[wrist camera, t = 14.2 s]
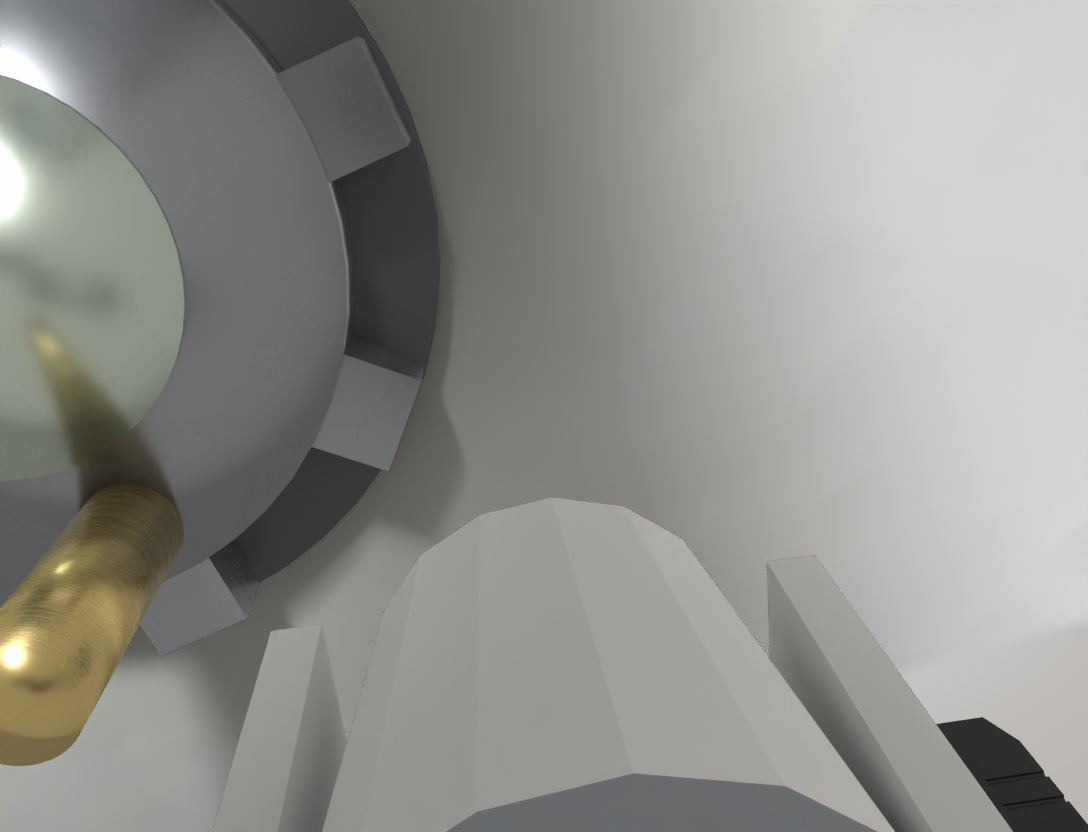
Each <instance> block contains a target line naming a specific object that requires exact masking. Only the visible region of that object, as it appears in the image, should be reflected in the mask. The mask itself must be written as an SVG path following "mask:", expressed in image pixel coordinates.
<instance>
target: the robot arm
mask: <svg viewBox="0 0 1088 832" xmlns="http://www.w3.org/2000/svg"><path fill="white" fill-rule="evenodd" d="M767 587H768V619H769V650H770V660H771V662H772V663H773V664H774V666H775V667H776V668H777V670H778V671H779V673H780V674H781V675H782V677H783V678H784V679H785V681H786V682H787V684H788V685H789V686H790V688H791V689H792V690H793V692H794V693H795V695H796V696H797V697H798V699H799V700H800V701H801V703H802V704H803V706H804V707H805V708H806V710H807V711H808V712H809V714H810V715H811V717H812V718H813V719H814V721H815V722H816V724H817V725H818V726H819V728H820V729H821V730H822V732H823V733H824V735H825V736H826V737H827V739H828V740H829V741H830V743H831V744H832V746H833V747H834V748H835V750H836V751H837V752H838V754H839V755H840V757H841V758H842V759H843V761H844V762H845V763H846V765H847V766H848V768H849V769H850V770H851V772H852V773H853V774H854V776H855V777H856V779H857V780H858V781H859V783H860V784H861V785H862V787H863V788H864V790H865V791H866V792H867V794H868V795H869V797H870V798H871V799H872V801H873V802H874V803H875V805H876V806H877V808H878V809H879V810H880V812H881V813H882V814H883V816H884V817H885V819H886V820H887V821H888V823H889V824H890V825H891V827H892V828H893V830H894V831H895V832H1088V824H1087V823H1086V822H1085V821H1084V819H1083V818H1082V817H1081V816H1080V814H1079V813H1078V812H1077V811H1076V810H1075V808H1074V807H1073V806H1072V805H1071V803H1070V802H1069V801H1068V802H1066V801H1065V799H1064V795H1063V794H1062V792H1061V791H1060V790H1059V789H1058V788H1057V786H1056V785H1055V784H1054V783H1053V782H1052V780H1051V779H1050V778H1049V777H1045V775H1044V771H1043V769H1042V768H1041V767H1040V766H1039V764H1038V763H1037V762H1036V761H1035V759H1034V758H1033V757H1032V756H1031V754H1030V753H1029V752H1028V751H1027V750H1026V748H1025V747H1024V746H1023V745H1022V743H1021V742H1020V741H1019V740H1017V739H1016V738H1014V737H1012V736H1011V735H1009V734H1008V733H1006V732H1005V731H1003V730H1002V729H1000V728H999V727H997V726H995V725H994V724H992V723H991V722H989V721H988V720H986V719H984V718H983V717H981V718H974V719H968V720H961V721H954V722H948V723H941V724H936V723H935V722H934V721H933V719H932V718H931V716H930V715H929V714H928V712H927V711H926V709H925V708H924V707H923V705H922V704H921V702H920V701H919V700H918V698H917V697H916V695H915V694H914V693H913V691H912V690H911V688H910V687H909V686H908V684H907V683H906V681H905V680H904V679H903V677H902V676H901V674H900V673H899V672H898V670H897V669H896V667H895V666H894V665H893V663H892V662H891V660H890V659H889V658H888V656H887V655H886V653H885V652H884V651H883V649H882V648H881V646H880V645H879V644H878V642H877V641H876V640H875V638H874V637H873V635H872V634H871V633H870V631H869V630H868V628H867V627H866V626H865V624H864V623H863V621H862V620H861V619H860V617H859V616H858V614H857V613H856V612H855V610H854V609H853V607H852V606H851V605H850V603H849V602H848V600H847V599H846V598H845V596H844V595H843V593H842V592H841V591H840V589H839V588H838V586H837V585H836V584H835V582H834V581H833V579H832V578H831V577H830V575H829V574H828V572H827V571H826V570H825V568H824V567H823V565H822V564H821V563H820V561H819V560H818V559H817V557H816V556H815V555H810V556H803V557H795V558H788V559H781V560H774V561H767ZM346 744H347V741H346V736H345V732H344V727H343V722H342V717H341V713H340V708H339V703H338V699H337V694H336V689H335V685H334V680H333V675H332V671H331V666H330V661H329V656H328V652H327V647H326V642H325V638H324V633H323V628H322V624H317V625H309V626H302V627H295V628H288V629H281V630H274V631H271V633H270V636H269V640H268V643H267V646H266V650H265V653H264V657H263V660H262V663H261V667H260V670H259V674H258V677H257V680H256V684H255V687H254V691H253V694H252V697H251V701H250V704H249V708H248V711H247V714H246V718H245V721H244V725H243V728H242V731H241V735H240V738H239V742H238V745H237V748H236V752H235V755H234V759H233V762H232V765H231V769H230V772H229V776H228V779H227V782H226V786H225V789H224V793H223V796H222V799H221V803H220V806H219V810H218V813H217V816H216V820H215V823H214V827H213V830H212V832H322V830H323V826H324V823H325V819H326V816H327V812H328V809H329V805H330V801H331V798H332V794H333V791H334V787H335V784H336V780H337V776H338V773H339V769H340V766H341V762H342V759H343V755H344V751H345V748H346Z"/></svg>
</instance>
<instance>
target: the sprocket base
mask: <svg viewBox="0 0 1088 832" xmlns="http://www.w3.org/2000/svg"><path fill="white" fill-rule="evenodd" d="M224 1H225V2H226V3H227V4H228V5H229V6H230V7H231V8H232V9H233V10H234V11H235V12H236V13H237V14H238V15H239V16H240V17H241V18H242V19H243V20H244V21H245V22H246V23H247V25H248V26H249V27H250V28H251V29H252V30H253V31H254V32H255V33H256V34H257V35H258V36H259V37H260V38H261V39H262V40H263V42H264V43H265V44H266V46H267V47H268V48H269V50H270V51H271V52H272V54H273V55H274V56H275V58H276V59H277V60H278V62H279V63H280V64H281V66H282V67H283V68H284V70H287V69H289V68H291V67H293V66H296V65H298V64H300V63H302V62H304V61H306V60H308V59H310V58H313V57H315V56H317V55H319V54H321V53H323V52H325V51H327V50H330V49H332V48H334V47H336V46H338V45H340V44H342V43H345V42H347V41H349V40H351V39H353V38H355V37H360V38H364V40H365V42H366V45H367V47H368V49H369V51H370V53H371V55H372V57H373V60H374V62H375V64H376V66H377V68H378V70H379V72H380V75H381V77H382V79H383V81H384V83H385V85H386V87H387V90H388V92H389V94H390V96H391V98H392V100H393V102H394V105H395V107H396V109H397V111H398V113H399V115H400V117H401V120H402V122H403V124H404V126H405V128H406V130H407V132H408V135H409V137H410V139H411V141H410V143H409V145H408V146H407V147H405V148H403V149H401V150H399V151H397V152H394V153H392V154H390V155H388V156H386V157H384V158H381V159H379V160H377V161H375V162H373V163H371V164H368V165H366V166H364V167H362V168H360V169H358V170H355V171H353V172H351V173H349V174H347V175H345V176H342V177H340V178H339V181H340V185H341V188H342V192H343V195H344V199H345V202H346V206H347V210H348V215H349V222H350V228H351V235H352V242H353V249H354V262H355V302H354V310H353V318H352V326H351V334H352V335H354V336H357V337H360V338H363V339H366V340H369V341H372V342H375V343H377V344H380V345H383V346H386V347H389V348H392V349H395V350H398V351H401V352H403V353H406V354H409V355H412V356H415V357H418V358H421V359H424V364H423V376H422V381H423V378H424V374H425V370H426V365H427V361H428V356H429V352H430V347H431V343H432V338H433V334H434V329H435V317H436V305H437V293H438V281H439V256H438V236H437V218H436V212H435V207H434V201H433V196H432V190H431V185H430V179H429V174H428V168H427V164H426V161H425V157H424V154H423V151H422V148H421V145H420V142H419V139H418V135H417V132H416V129H415V126H414V123H413V120H412V116H411V113H410V111H409V109H408V106H407V104H406V102H405V100H404V98H403V96H402V93H401V91H400V89H399V87H398V85H397V83H396V80H395V78H394V76H393V74H392V72H391V70H390V67H389V65H388V63H387V61H386V59H385V57H384V56H383V54H382V52H381V51H380V49H379V48H378V46H377V44H376V43H375V41H374V40H373V38H372V36H371V35H370V33H369V31H368V30H367V28H366V27H365V25H364V23H363V22H362V20H361V19H360V17H359V15H358V14H357V12H356V10H355V9H354V8H353V6H352V5H351V4H350V3H349V1H348V0H224ZM421 384H422V383H421ZM420 386H421V385H420ZM419 389H420V388H419ZM418 392H419V391H418ZM417 394H418V393H417ZM416 397H417V396H416ZM415 400H416V399H415ZM414 403H415V402H414ZM413 405H414V404H413ZM412 408H413V407H412ZM411 411H412V410H411ZM410 413H411V412H410ZM409 416H410V415H409ZM408 419H409V418H408ZM406 424H407V423H406ZM380 470H381V469H379V468H376V467H373V466H370V465H367V464H364V463H361V462H358V461H354V460H351V459H348V458H345V457H342V456H339V455H336V454H333V453H330V452H327V451H323V450H320V449H317V448H314V447H311V449H310V450H309V452H308V454H307V455H306V457H305V459H304V460H303V462H302V463H301V465H300V467H299V468H298V470H297V472H296V473H295V475H294V477H293V478H292V480H291V481H290V482H289V483H288V484H287V486H286V487H285V488H284V489H283V491H282V492H281V493H280V494H279V495H278V497H277V498H276V499H275V500H274V502H273V503H272V504H271V505H270V506H269V508H268V509H267V510H266V511H265V512H264V513H263V514H262V515H261V516H260V517H259V518H258V519H256V520H255V521H254V522H253V523H252V524H251V525H250V526H249V527H248V528H247V529H246V530H245V531H243V532H242V533H241V534H240V535H239V536H238V537H237V538H236V539H234V540H233V541H234V542H235V544H236V545H237V547H238V549H239V550H240V552H241V554H242V555H243V557H244V558H245V560H246V562H247V563H248V565H249V567H250V568H251V570H252V571H253V573H254V575H255V576H256V578H257V580H258V581H259V582H261V581H263V580H264V579H266V578H268V577H269V576H271V575H273V574H274V573H276V572H278V571H279V570H281V569H283V568H284V567H286V566H288V565H289V564H290V563H291V562H293V561H294V560H295V559H296V558H298V557H299V556H300V555H302V554H303V553H304V552H305V551H307V550H308V549H309V548H310V547H312V546H313V545H314V544H315V543H317V542H318V541H319V540H321V539H322V538H323V537H324V536H325V535H326V534H327V533H328V532H329V531H330V530H331V529H332V528H333V527H334V526H335V525H336V524H337V523H338V522H339V521H340V520H341V519H342V518H343V517H344V516H345V515H346V513H347V512H348V511H349V510H350V509H351V508H352V507H353V506H354V505H355V504H356V503H357V502H358V500H359V499H360V498H361V496H362V495H363V494H364V492H365V491H366V489H367V488H368V487H369V485H370V484H371V483H372V481H373V480H374V479H375V477H376V476H377V474H378V473H379V472H380ZM139 626H140V625H139Z"/></svg>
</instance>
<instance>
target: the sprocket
mask: <svg viewBox="0 0 1088 832" xmlns="http://www.w3.org/2000/svg"><path fill="white" fill-rule="evenodd" d="M410 141H411V139H410V137H409V135H408V132H407V130H406V128H405V126H404V124H403V122H402V120H401V117H400V115H399V113H398V111H397V109H396V107H395V105H394V102H393V100H392V98H391V96H390V94H389V92H388V90H387V87H386V85H385V83H384V81H383V79H382V77H381V75H380V72H379V70H378V68H377V66H376V64H375V62H374V60H373V57H372V55H371V53H370V51H369V49H368V47H367V45H366V42H365V40H364V38H360V37H355V38H353V39H351V40H349V41H347V42H345V43H342V44H340V45H338V46H336V47H334V48H332V49H330V50H327V51H325V52H323V53H321V54H319V55H317V56H315V57H313V58H310V59H308V60H306V61H304V62H302V63H300V64H298V65H296V66H293V67H291V68H289V69H287V70H284V68H283V67H282V66H281V64H280V63H279V62H278V60H277V59H276V58H275V56H274V55H273V54H272V52H271V51H270V50H269V48H268V47H267V46H266V44H265V43H264V42H263V40H262V39H261V38H260V37H259V36H258V35H257V34H256V33H255V32H254V31H253V30H252V29H251V28H250V27H249V26H248V25H247V23H246V22H245V21H244V20H243V19H242V18H241V17H240V16H239V15H238V14H237V13H236V12H235V11H234V10H233V9H232V8H231V7H230V6H229V5H228V4H227V3H226V2H225V1H224V0H0V764H4V765H13V766H26V765H34V764H38V763H43V762H46V761H48V760H51V759H53V758H55V757H57V756H59V755H60V754H62V753H63V752H65V751H66V750H67V749H68V748H69V747H70V746H72V744H73V743H74V742H75V741H76V739H77V738H78V736H79V734H80V733H81V731H82V729H83V727H84V725H85V724H86V722H87V720H88V718H89V716H90V714H91V713H92V711H93V709H94V707H95V705H96V703H97V702H98V700H99V698H100V696H101V694H102V693H103V691H104V689H105V687H106V685H107V683H108V682H109V680H110V678H111V676H112V674H113V673H114V671H115V669H116V667H117V665H118V663H119V662H120V660H121V658H122V656H123V654H124V653H125V651H126V649H127V647H128V645H129V643H130V642H131V640H132V638H133V636H134V634H135V632H136V631H137V629H138V627H139V625H140V626H141V628H142V629H143V631H144V632H145V634H146V635H147V637H148V638H149V640H150V641H151V643H152V644H153V646H154V647H155V649H156V650H157V652H158V653H159V655H160V656H163V655H165V654H167V653H169V652H172V651H174V650H176V649H179V648H181V647H183V646H185V645H188V644H190V643H192V642H195V641H197V640H199V639H201V638H204V637H206V636H208V635H211V634H213V633H215V632H217V631H220V630H222V629H224V628H227V627H229V626H231V625H233V624H236V623H238V622H240V621H243V620H245V619H247V617H248V615H249V612H250V609H251V606H252V604H253V601H254V598H255V595H256V593H257V590H258V587H259V584H260V583H259V581H258V580H257V578H256V576H255V575H254V573H253V571H252V570H251V568H250V567H249V565H248V563H247V562H246V560H245V558H244V557H243V555H242V554H241V552H240V550H239V549H238V547H237V545H236V544H235V542H234V541H233V540H234V539H236V538H237V537H238V536H239V535H240V534H241V533H242V532H243V531H245V530H246V529H247V528H248V527H249V526H250V525H251V524H252V523H253V522H254V521H255V520H256V519H258V518H259V517H260V516H261V515H262V514H263V513H264V512H265V511H266V510H267V509H268V508H269V506H270V505H271V504H272V503H273V502H274V500H275V499H276V498H277V497H278V495H279V494H280V493H281V492H282V491H283V489H284V488H285V487H286V486H287V484H288V483H289V482H290V481H291V480H292V478H293V477H294V475H295V473H296V472H297V470H298V468H299V467H300V465H301V463H302V462H303V460H304V459H305V457H306V455H307V454H308V452H309V450H310V449H311V447H314V448H317V449H320V450H323V451H327V452H330V453H333V454H336V455H339V456H342V457H345V458H348V459H351V460H354V461H358V462H361V463H364V464H367V465H370V466H373V467H376V468H379V469H382V470H386V471H389V469H390V467H391V464H392V461H393V458H394V456H395V453H396V450H397V448H398V445H399V442H400V439H401V437H402V434H403V431H404V429H405V426H406V423H407V421H408V418H409V415H410V412H411V410H412V407H413V404H414V402H415V399H416V396H417V393H418V391H419V388H420V385H421V383H422V376H423V364H424V359H421V358H418V357H415V356H412V355H409V354H406V353H403V352H401V351H398V350H395V349H392V348H389V347H386V346H383V345H380V344H377V343H375V342H372V341H369V340H366V339H363V338H360V337H357V336H354V335H352V334H351V326H352V318H353V310H354V302H355V262H354V249H353V242H352V235H351V228H350V222H349V215H348V210H347V206H346V202H345V199H344V195H343V192H342V188H341V185H340V181H339V178H340V177H342V176H345V175H347V174H349V173H351V172H353V171H355V170H358V169H360V168H362V167H364V166H366V165H368V164H371V163H373V162H375V161H377V160H379V159H381V158H384V157H386V156H388V155H390V154H392V153H394V152H397V151H399V150H401V149H403V148H405V147H407V146H408V145H409V143H410Z"/></svg>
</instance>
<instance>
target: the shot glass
mask: <svg viewBox="0 0 1088 832" xmlns="http://www.w3.org/2000/svg"><path fill="white" fill-rule="evenodd" d="M322 832H895V831H894V830H893V828H892V827H891V825H890V824H889V823H888V821H887V820H886V819H885V817H884V816H883V814H882V813H881V812H880V810H879V809H878V808H877V806H876V805H875V803H874V802H873V801H872V799H871V798H870V797H869V795H868V794H867V792H866V791H865V790H864V788H863V787H862V785H861V784H860V783H859V781H858V780H857V779H856V777H855V776H854V774H853V773H852V772H851V770H850V769H849V768H848V766H847V765H846V763H845V762H844V761H843V759H842V758H841V757H840V755H839V754H838V752H837V751H836V750H835V748H834V747H833V746H832V744H831V743H830V741H829V740H828V739H827V737H826V736H825V735H824V733H823V732H822V730H821V729H820V728H819V726H818V725H817V724H816V722H815V721H814V719H813V718H812V717H811V715H810V714H809V712H808V711H807V710H806V708H805V707H804V706H803V704H802V703H801V701H800V700H799V699H798V697H797V696H796V695H795V693H794V692H793V690H792V689H791V688H790V686H789V685H788V684H787V682H786V681H785V679H784V678H783V677H782V675H781V674H780V673H779V671H778V670H777V668H776V667H775V666H774V664H773V663H772V662H771V660H770V659H769V657H768V656H767V655H766V653H765V652H764V651H763V649H762V648H761V646H760V645H759V644H758V642H757V641H756V640H755V638H754V637H753V635H752V634H751V633H750V631H749V630H748V628H747V627H746V626H745V624H744V623H743V622H742V620H741V619H740V617H739V616H738V615H737V613H736V612H735V611H734V609H733V608H732V606H731V605H730V604H729V602H728V601H727V600H726V598H725V597H724V595H723V594H722V593H721V591H720V590H719V589H718V587H717V586H716V584H715V583H714V582H713V580H712V579H711V578H710V576H709V575H708V574H707V572H706V571H705V570H704V568H703V567H702V566H701V564H700V563H699V561H698V560H697V559H696V557H695V556H694V555H693V553H692V552H691V551H690V549H689V548H688V547H687V545H686V544H685V542H684V541H683V540H682V539H681V538H679V537H677V536H676V535H674V534H672V533H670V532H668V531H667V530H665V529H663V528H661V527H659V526H658V525H656V524H654V523H652V522H650V521H649V520H647V519H645V518H643V517H642V516H640V515H638V514H636V513H634V512H633V511H631V510H629V509H627V508H625V507H624V506H617V505H609V504H600V503H592V502H584V501H576V500H568V499H560V498H552V497H551V498H547V499H543V500H539V501H535V502H531V503H527V504H522V505H518V506H514V507H510V508H506V509H502V510H498V511H493V512H489V513H485V514H481V515H479V516H477V517H476V518H474V519H473V520H471V521H470V522H468V523H467V524H465V525H464V526H463V527H461V528H460V529H458V530H457V531H455V532H454V533H452V534H451V535H449V536H448V537H446V538H445V539H443V540H442V541H441V542H439V543H438V544H436V545H435V546H433V547H432V548H430V549H429V550H427V551H426V552H424V553H423V554H421V555H420V557H419V558H418V560H417V561H416V563H415V564H414V566H413V567H412V569H411V570H410V572H409V573H408V575H407V576H406V578H405V580H404V581H403V583H402V584H401V586H400V587H399V589H398V590H397V592H396V593H395V595H394V596H393V598H392V599H391V601H390V602H389V604H388V606H387V607H386V609H385V610H384V612H383V616H382V619H381V623H380V627H379V630H378V634H377V637H376V641H375V644H374V648H373V652H372V655H371V659H370V662H369V666H368V669H367V673H366V677H365V680H364V684H363V687H362V691H361V694H360V698H359V701H358V705H357V709H356V712H355V716H354V719H353V723H352V726H351V730H350V734H349V737H348V741H347V744H346V748H345V751H344V755H343V759H342V762H341V766H340V769H339V773H338V776H337V780H336V784H335V787H334V791H333V794H332V798H331V801H330V805H329V809H328V812H327V816H326V819H325V823H324V826H323V830H322Z"/></svg>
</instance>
